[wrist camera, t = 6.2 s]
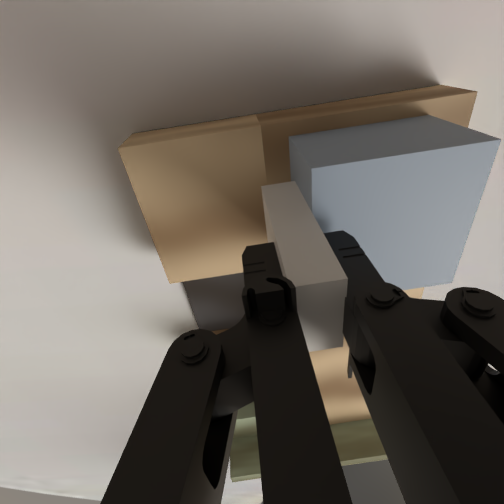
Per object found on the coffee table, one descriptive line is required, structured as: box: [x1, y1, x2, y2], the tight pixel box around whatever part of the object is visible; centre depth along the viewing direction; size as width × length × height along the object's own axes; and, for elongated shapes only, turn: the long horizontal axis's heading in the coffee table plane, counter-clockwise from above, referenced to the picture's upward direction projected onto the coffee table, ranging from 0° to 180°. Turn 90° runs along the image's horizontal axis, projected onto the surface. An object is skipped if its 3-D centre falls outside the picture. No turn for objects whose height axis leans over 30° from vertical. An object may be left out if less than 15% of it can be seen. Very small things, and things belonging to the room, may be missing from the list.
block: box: [289, 115, 501, 290], centre depth 13 cm, size 6×6×4 cm
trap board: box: [118, 85, 477, 482], centre depth 20 cm, size 28×15×6 cm, turn 8°
